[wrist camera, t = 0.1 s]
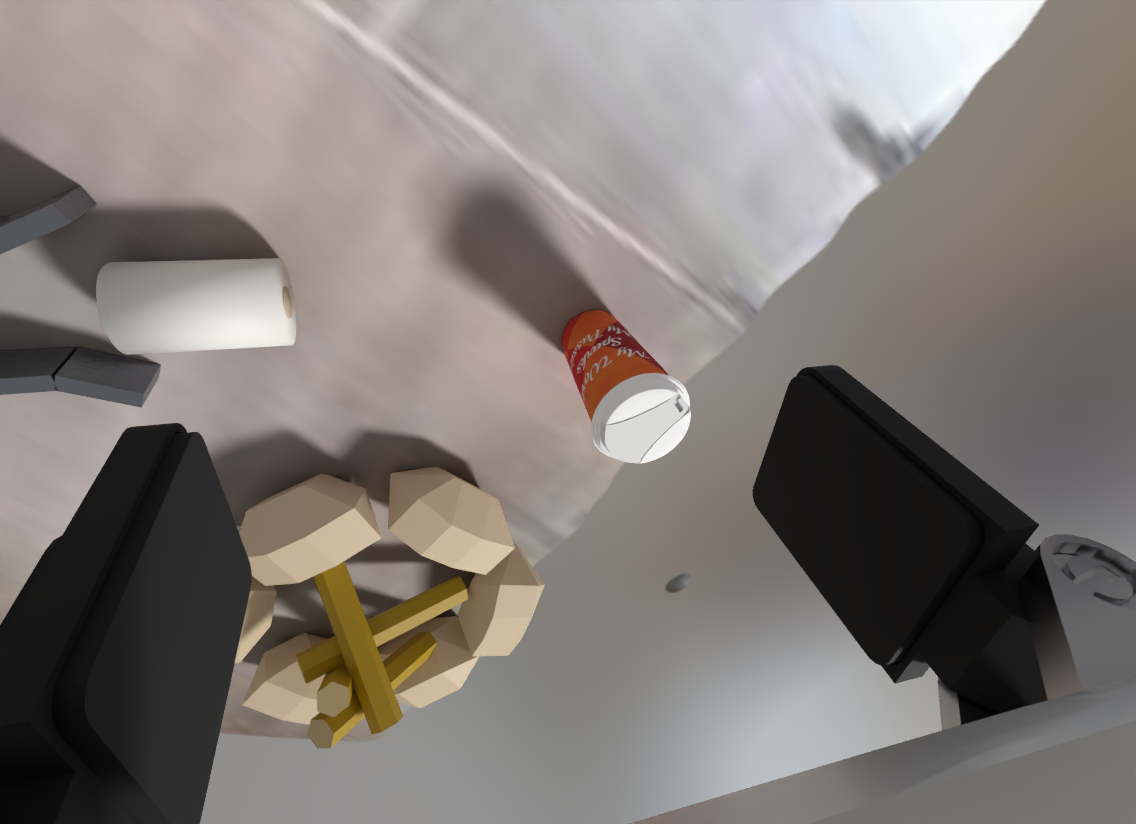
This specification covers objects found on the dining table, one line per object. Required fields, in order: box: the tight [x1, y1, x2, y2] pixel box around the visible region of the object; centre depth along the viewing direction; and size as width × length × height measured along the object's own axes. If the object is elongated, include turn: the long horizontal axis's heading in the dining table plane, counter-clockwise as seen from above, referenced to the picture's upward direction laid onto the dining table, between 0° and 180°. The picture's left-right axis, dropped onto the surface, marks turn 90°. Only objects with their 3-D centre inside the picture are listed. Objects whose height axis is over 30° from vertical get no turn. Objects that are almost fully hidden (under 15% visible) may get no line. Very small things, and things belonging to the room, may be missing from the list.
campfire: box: [235, 467, 545, 748], centre depth 56 cm, size 35×34×17 cm
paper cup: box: [562, 310, 691, 463], centre depth 46 cm, size 8×8×14 cm
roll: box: [96, 258, 296, 355], centre depth 39 cm, size 10×6×6 cm, turn 86°
